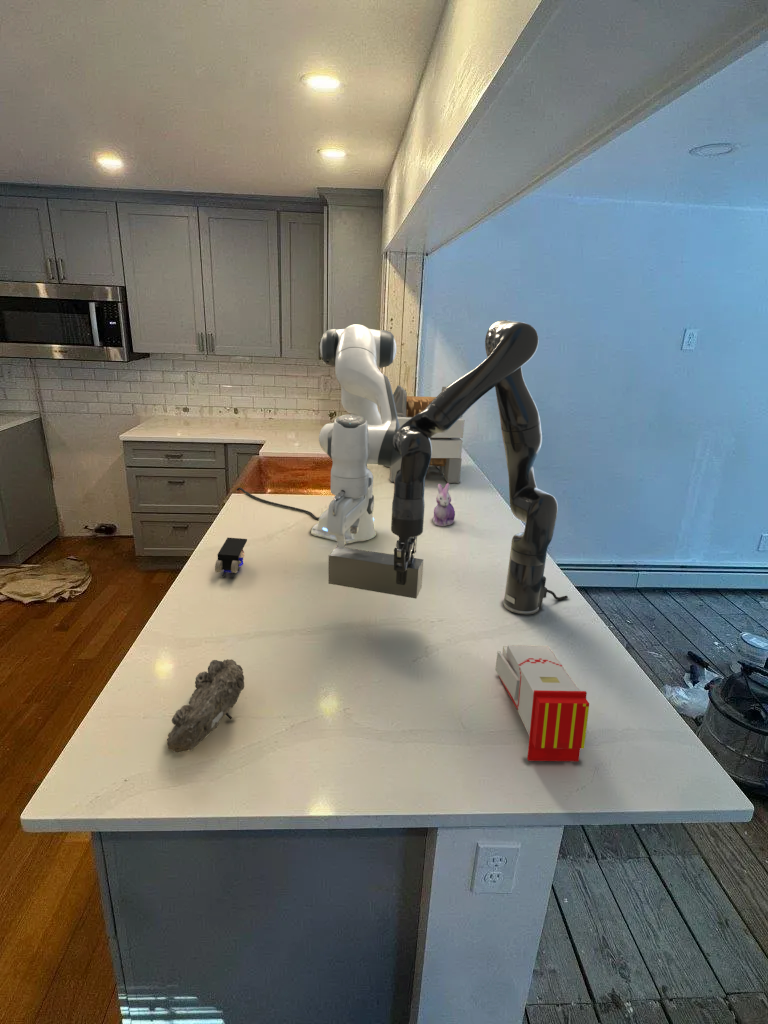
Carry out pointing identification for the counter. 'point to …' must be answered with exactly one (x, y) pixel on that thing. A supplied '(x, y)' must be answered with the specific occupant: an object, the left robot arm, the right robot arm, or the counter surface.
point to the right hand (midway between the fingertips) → (404, 578)
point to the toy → (545, 701)
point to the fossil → (206, 705)
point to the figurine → (443, 507)
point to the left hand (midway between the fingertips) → (348, 539)
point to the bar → (373, 572)
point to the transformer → (443, 444)
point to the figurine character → (230, 556)
